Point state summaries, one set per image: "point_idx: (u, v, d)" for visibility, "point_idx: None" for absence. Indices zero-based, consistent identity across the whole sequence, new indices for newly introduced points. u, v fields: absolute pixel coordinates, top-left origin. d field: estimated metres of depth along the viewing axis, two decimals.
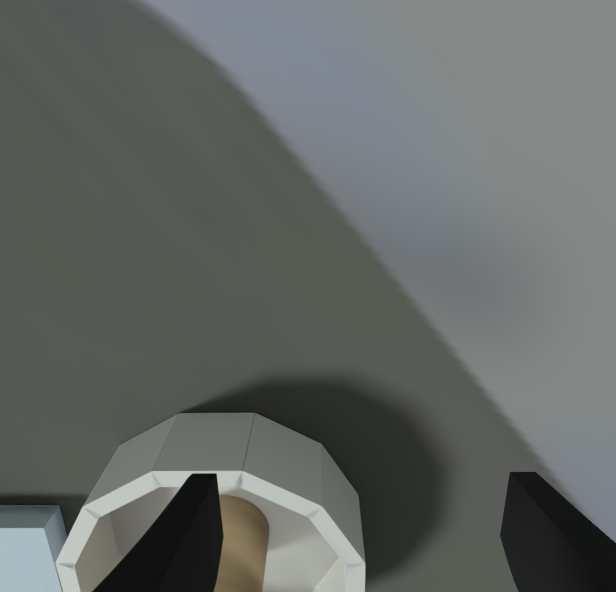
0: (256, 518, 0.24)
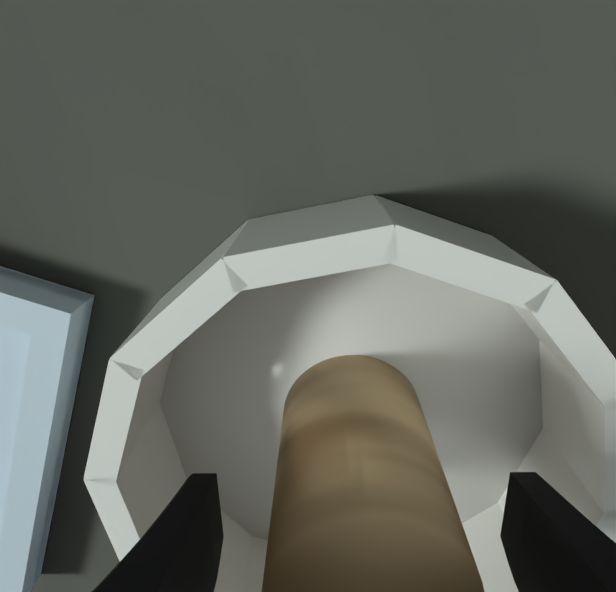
0: (421, 408, 0.15)
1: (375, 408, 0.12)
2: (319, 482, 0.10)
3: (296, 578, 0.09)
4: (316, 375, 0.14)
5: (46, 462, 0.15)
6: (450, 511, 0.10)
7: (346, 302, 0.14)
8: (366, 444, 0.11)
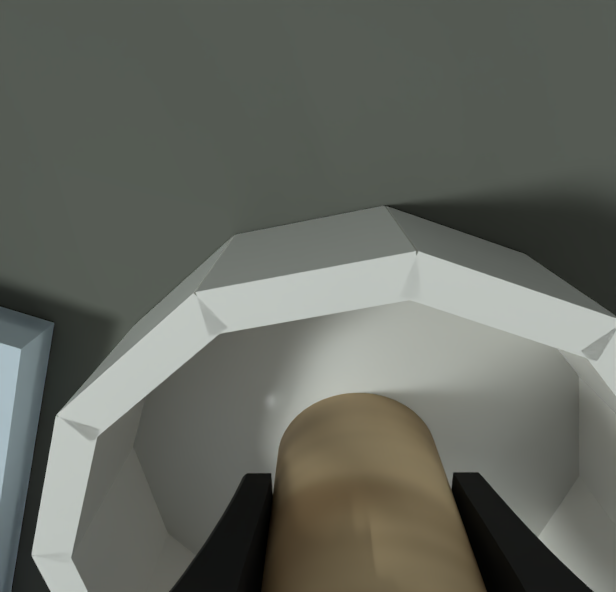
0: None
1: (387, 469, 0.10)
2: (319, 581, 0.08)
3: None
4: (315, 419, 0.12)
5: (0, 516, 0.13)
6: None
7: (351, 332, 0.12)
8: (378, 523, 0.09)
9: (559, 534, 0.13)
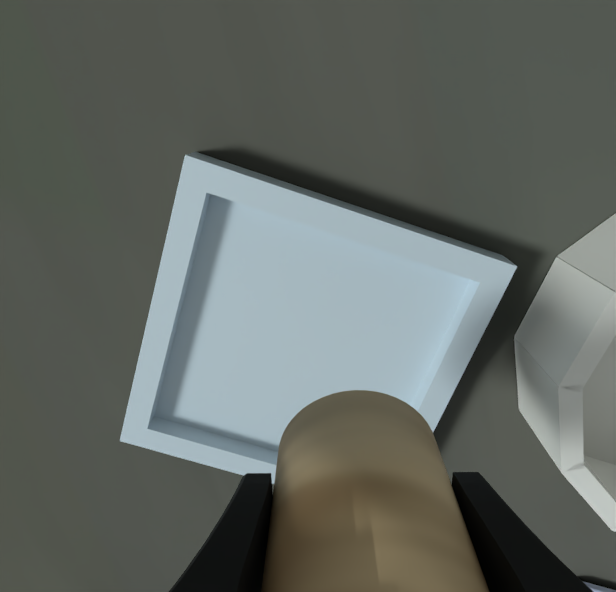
0: None
1: (388, 466, 0.10)
2: (320, 577, 0.08)
3: None
4: (316, 416, 0.12)
5: None
6: None
7: None
8: (379, 520, 0.09)
9: None
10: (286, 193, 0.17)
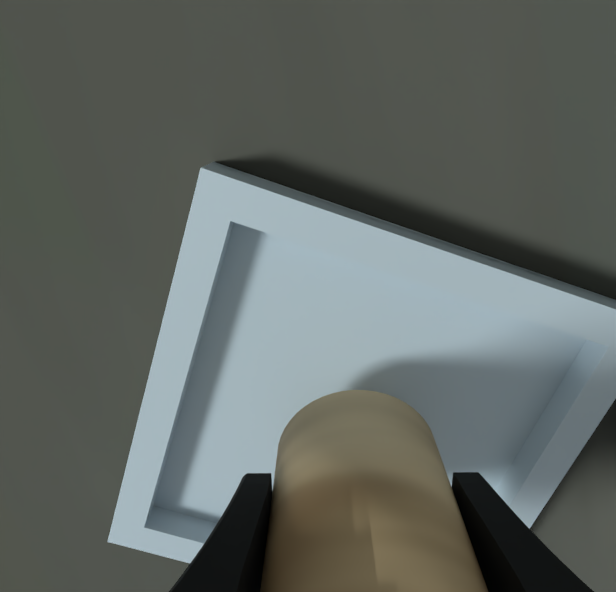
0: (439, 453, 0.12)
1: (387, 466, 0.10)
2: (318, 577, 0.08)
3: None
4: (314, 415, 0.12)
5: None
6: None
7: None
8: (378, 520, 0.09)
9: None
10: (344, 223, 0.12)
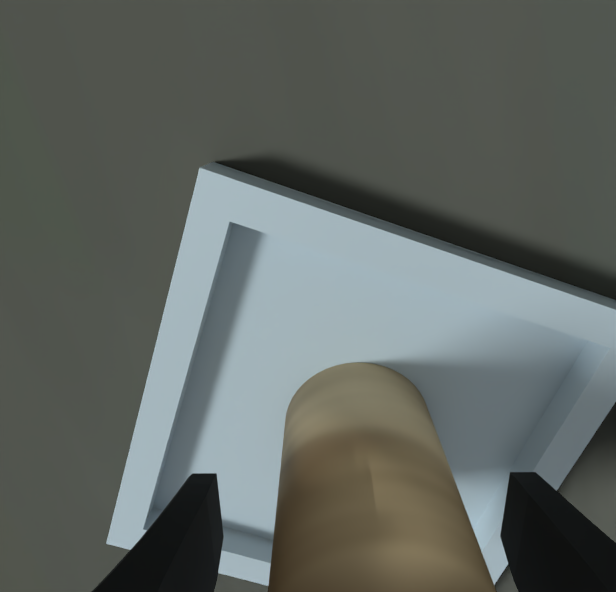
0: None
1: (384, 423, 0.11)
2: (326, 508, 0.09)
3: None
4: (319, 385, 0.13)
5: (558, 482, 0.14)
6: (469, 538, 0.09)
7: None
8: (376, 463, 0.10)
9: None
10: (344, 223, 0.12)
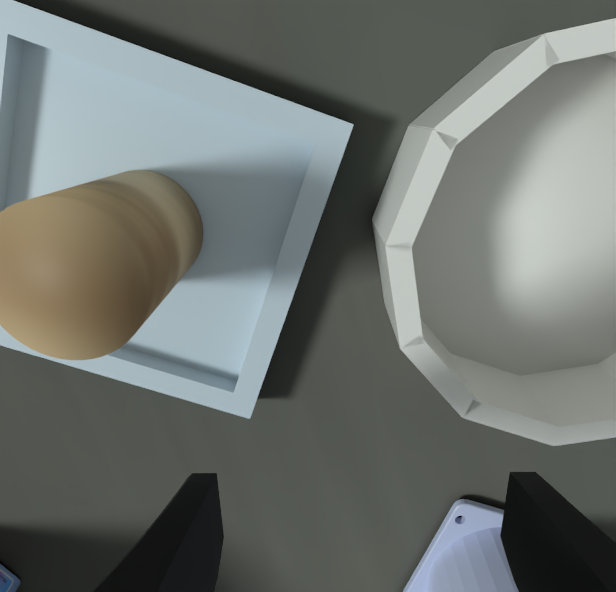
0: (193, 211, 0.18)
1: (118, 180, 0.15)
2: None
3: None
4: None
5: None
6: (133, 220, 0.13)
7: (569, 125, 0.17)
8: (86, 185, 0.14)
9: None
10: (94, 35, 0.15)
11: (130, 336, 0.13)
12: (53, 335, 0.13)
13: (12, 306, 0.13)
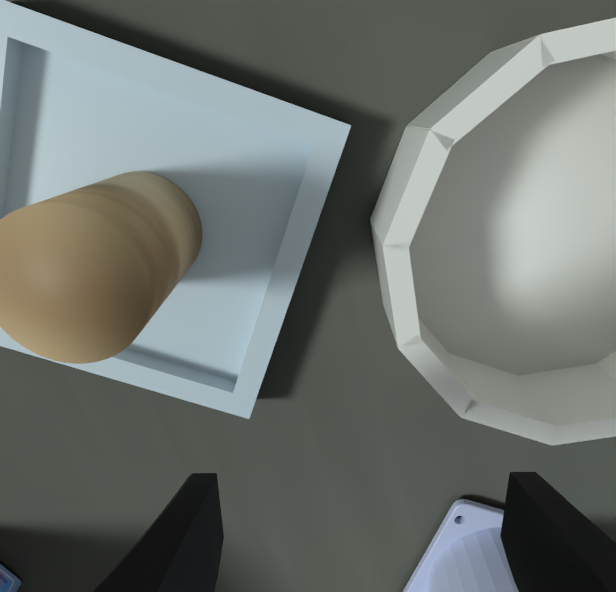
0: (192, 212, 0.18)
1: (116, 183, 0.15)
2: None
3: (0, 263, 0.12)
4: None
5: (300, 270, 0.18)
6: (132, 224, 0.13)
7: (566, 125, 0.17)
8: (85, 189, 0.14)
9: None
10: (93, 37, 0.15)
11: (132, 339, 0.13)
12: (56, 339, 0.13)
13: (15, 311, 0.13)
